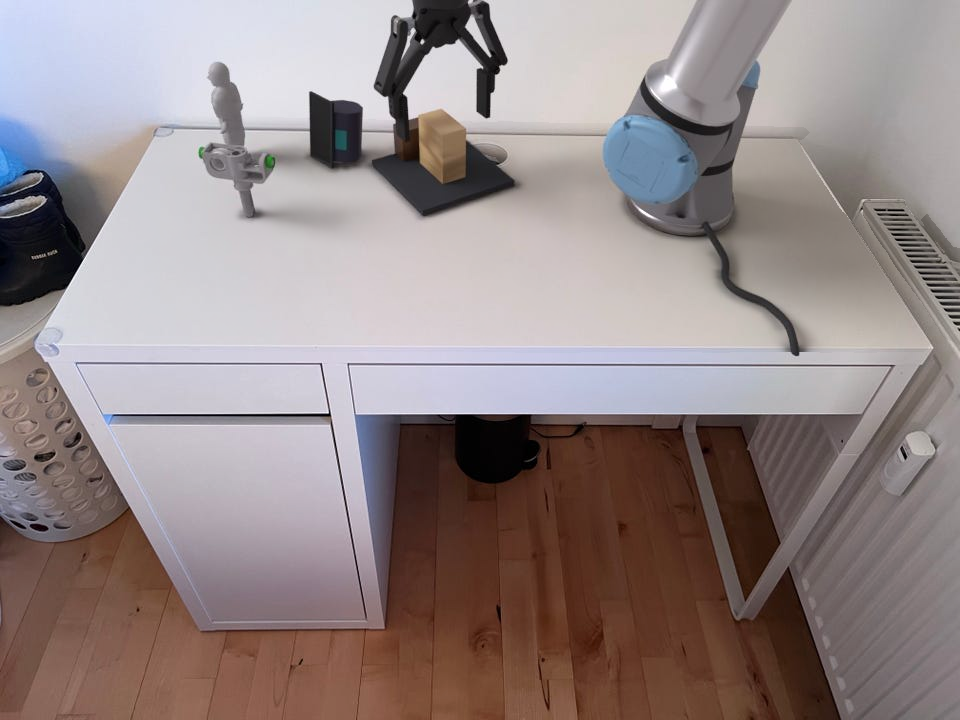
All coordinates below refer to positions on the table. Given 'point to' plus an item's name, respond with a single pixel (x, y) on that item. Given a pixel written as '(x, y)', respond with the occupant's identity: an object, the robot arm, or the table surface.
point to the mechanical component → (237, 169)
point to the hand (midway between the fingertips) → (444, 126)
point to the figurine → (227, 104)
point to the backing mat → (430, 191)
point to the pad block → (442, 145)
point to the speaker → (335, 130)
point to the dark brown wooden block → (408, 148)
